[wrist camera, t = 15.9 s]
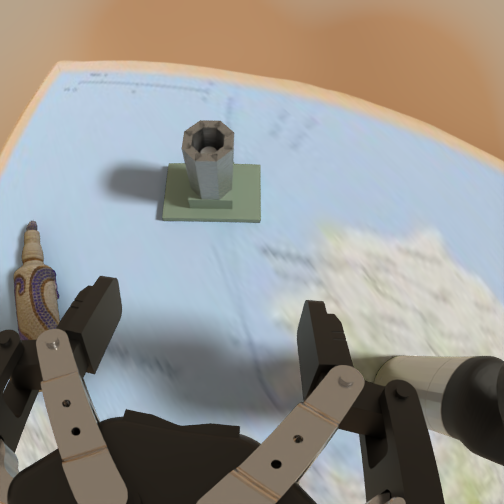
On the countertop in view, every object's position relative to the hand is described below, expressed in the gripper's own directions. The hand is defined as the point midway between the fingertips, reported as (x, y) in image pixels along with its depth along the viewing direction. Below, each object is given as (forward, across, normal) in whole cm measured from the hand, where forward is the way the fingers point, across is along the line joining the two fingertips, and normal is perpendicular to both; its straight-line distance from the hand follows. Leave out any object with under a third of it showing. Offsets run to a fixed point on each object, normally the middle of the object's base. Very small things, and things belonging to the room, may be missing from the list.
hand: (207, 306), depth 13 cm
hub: (+32, +4, +5) cm, 33 cm away
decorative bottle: (+21, +26, +23) cm, 41 cm away
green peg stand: (+35, +4, +8) cm, 36 cm away
